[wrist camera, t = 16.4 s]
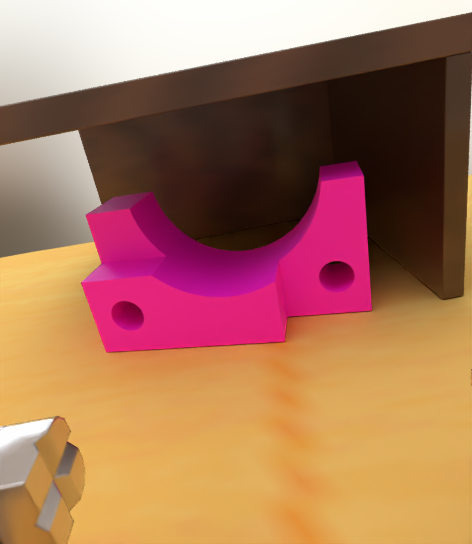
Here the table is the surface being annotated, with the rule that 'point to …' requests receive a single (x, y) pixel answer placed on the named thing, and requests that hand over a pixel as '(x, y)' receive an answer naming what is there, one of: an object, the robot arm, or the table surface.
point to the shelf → (292, 138)
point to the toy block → (225, 272)
